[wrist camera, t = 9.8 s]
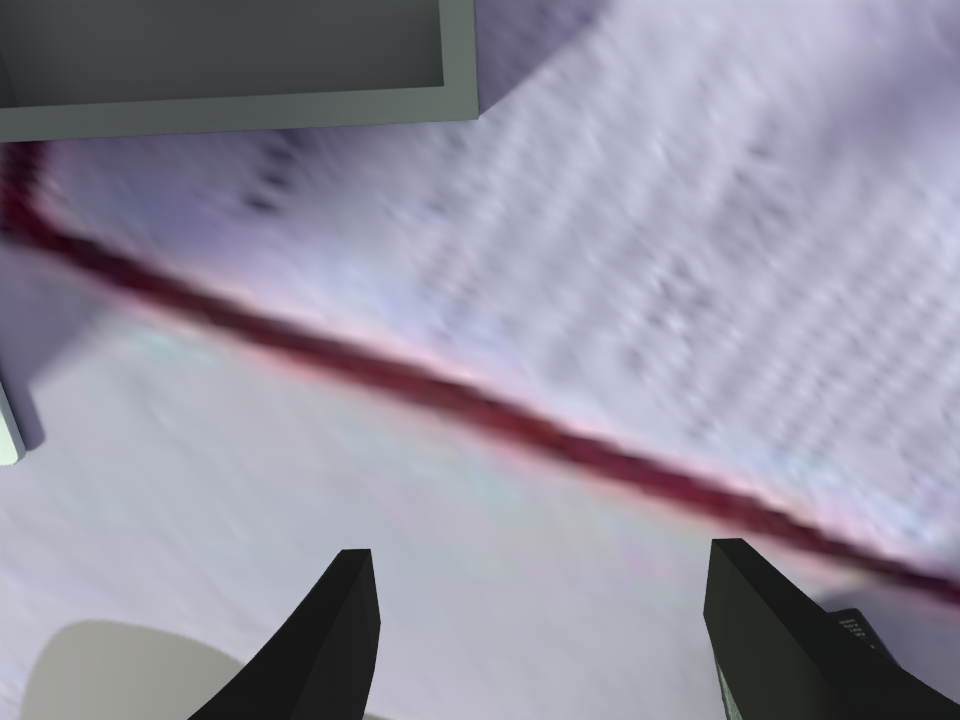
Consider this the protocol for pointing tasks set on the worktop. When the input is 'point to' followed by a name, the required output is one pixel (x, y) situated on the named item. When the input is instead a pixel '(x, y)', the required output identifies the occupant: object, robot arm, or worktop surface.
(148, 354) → the worktop surface
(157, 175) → the worktop surface
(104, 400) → the worktop surface
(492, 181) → the worktop surface
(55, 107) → the tray
